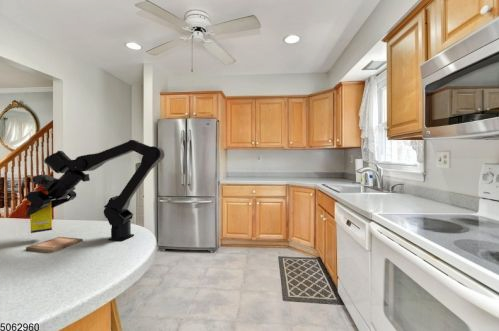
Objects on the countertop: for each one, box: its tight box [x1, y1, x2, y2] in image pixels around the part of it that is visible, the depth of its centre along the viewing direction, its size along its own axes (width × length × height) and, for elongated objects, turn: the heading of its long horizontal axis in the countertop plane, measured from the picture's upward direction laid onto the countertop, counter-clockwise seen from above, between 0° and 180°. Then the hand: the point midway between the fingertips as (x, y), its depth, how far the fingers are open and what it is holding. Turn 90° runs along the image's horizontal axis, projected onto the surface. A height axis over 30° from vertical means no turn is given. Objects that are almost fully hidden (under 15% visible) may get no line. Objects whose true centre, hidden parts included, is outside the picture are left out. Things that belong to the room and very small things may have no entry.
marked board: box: [25, 236, 84, 254], centre depth 83 cm, size 11×11×1 cm
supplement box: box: [29, 201, 53, 234], centre depth 88 cm, size 6×6×11 cm
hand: (37, 212), depth 88 cm, fingers closed on supplement box, 8 cm apart
